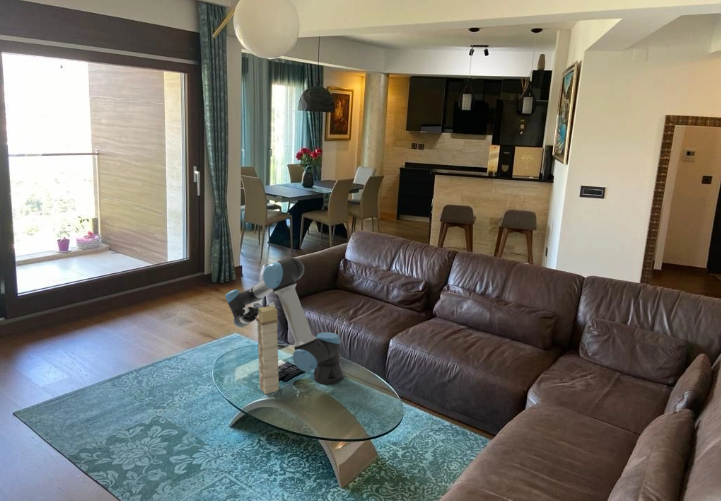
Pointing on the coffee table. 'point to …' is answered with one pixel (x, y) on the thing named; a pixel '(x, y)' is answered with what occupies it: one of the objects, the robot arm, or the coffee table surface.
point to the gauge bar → (265, 312)
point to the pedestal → (268, 355)
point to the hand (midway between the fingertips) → (261, 306)
